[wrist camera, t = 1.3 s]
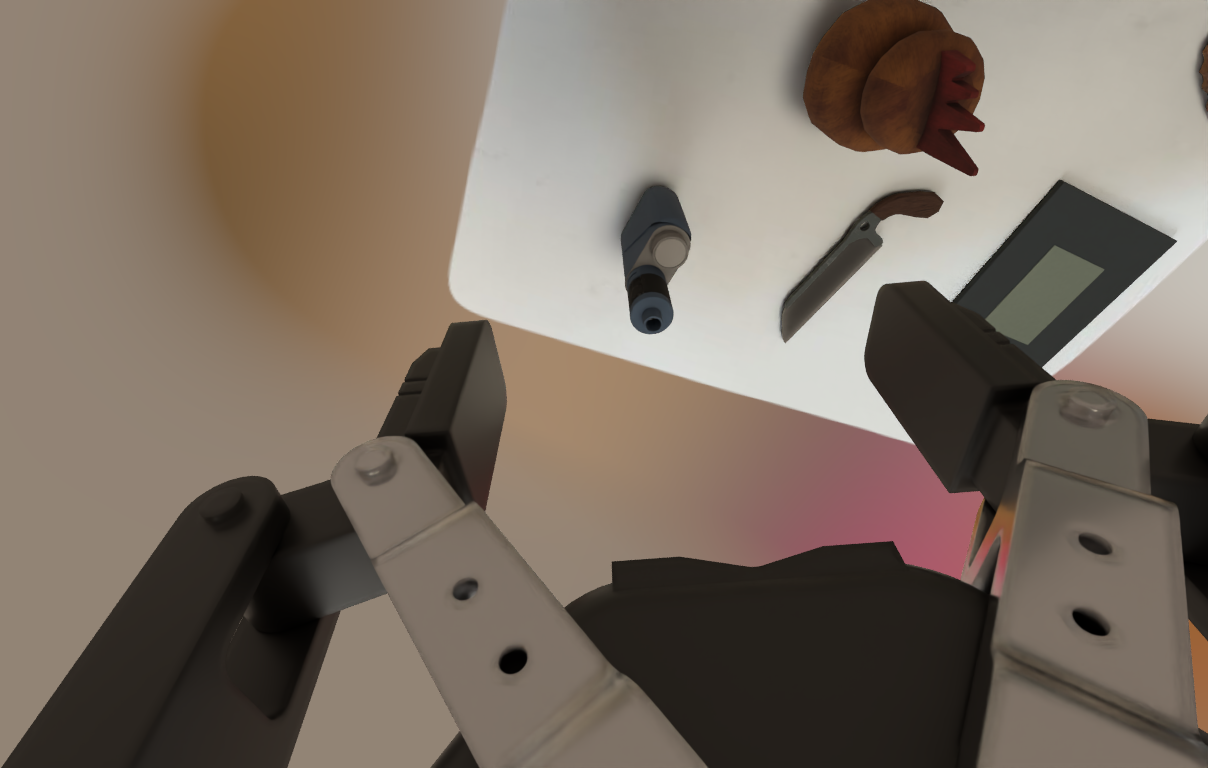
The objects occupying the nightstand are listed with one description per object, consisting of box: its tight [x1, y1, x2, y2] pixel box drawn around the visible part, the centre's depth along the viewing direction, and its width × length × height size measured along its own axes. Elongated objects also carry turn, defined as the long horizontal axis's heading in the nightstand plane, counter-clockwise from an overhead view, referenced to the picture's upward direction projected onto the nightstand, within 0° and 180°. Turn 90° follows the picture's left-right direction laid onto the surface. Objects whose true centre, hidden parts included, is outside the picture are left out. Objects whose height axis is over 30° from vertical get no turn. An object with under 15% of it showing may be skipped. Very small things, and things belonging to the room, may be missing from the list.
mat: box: [953, 180, 1177, 367], centre depth 42 cm, size 14×11×1 cm
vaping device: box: [621, 186, 691, 334], centre depth 33 cm, size 3×5×12 cm, turn 152°
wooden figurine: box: [803, 0, 985, 176], centre depth 26 cm, size 7×6×15 cm
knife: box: [782, 191, 944, 343], centre depth 40 cm, size 14×4×1 cm, turn 147°
